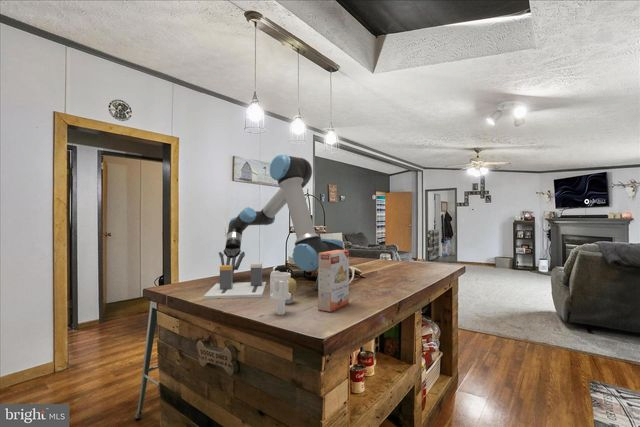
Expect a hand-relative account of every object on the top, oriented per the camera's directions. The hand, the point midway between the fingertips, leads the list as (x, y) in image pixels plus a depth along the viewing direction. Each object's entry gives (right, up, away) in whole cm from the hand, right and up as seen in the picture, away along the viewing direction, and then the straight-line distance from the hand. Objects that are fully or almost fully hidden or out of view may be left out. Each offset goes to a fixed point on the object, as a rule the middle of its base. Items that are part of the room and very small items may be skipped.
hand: (228, 281), depth 156 cm
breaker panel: (+6, -3, -5) cm, 8 cm away
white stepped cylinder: (+29, -3, -39) cm, 49 cm away
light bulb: (+31, -3, -26) cm, 40 cm away
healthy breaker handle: (+13, -2, +2) cm, 13 cm away
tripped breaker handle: (+1, -2, -5) cm, 6 cm away
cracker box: (+48, -3, -32) cm, 58 cm away
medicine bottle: (+25, -4, -10) cm, 28 cm away
